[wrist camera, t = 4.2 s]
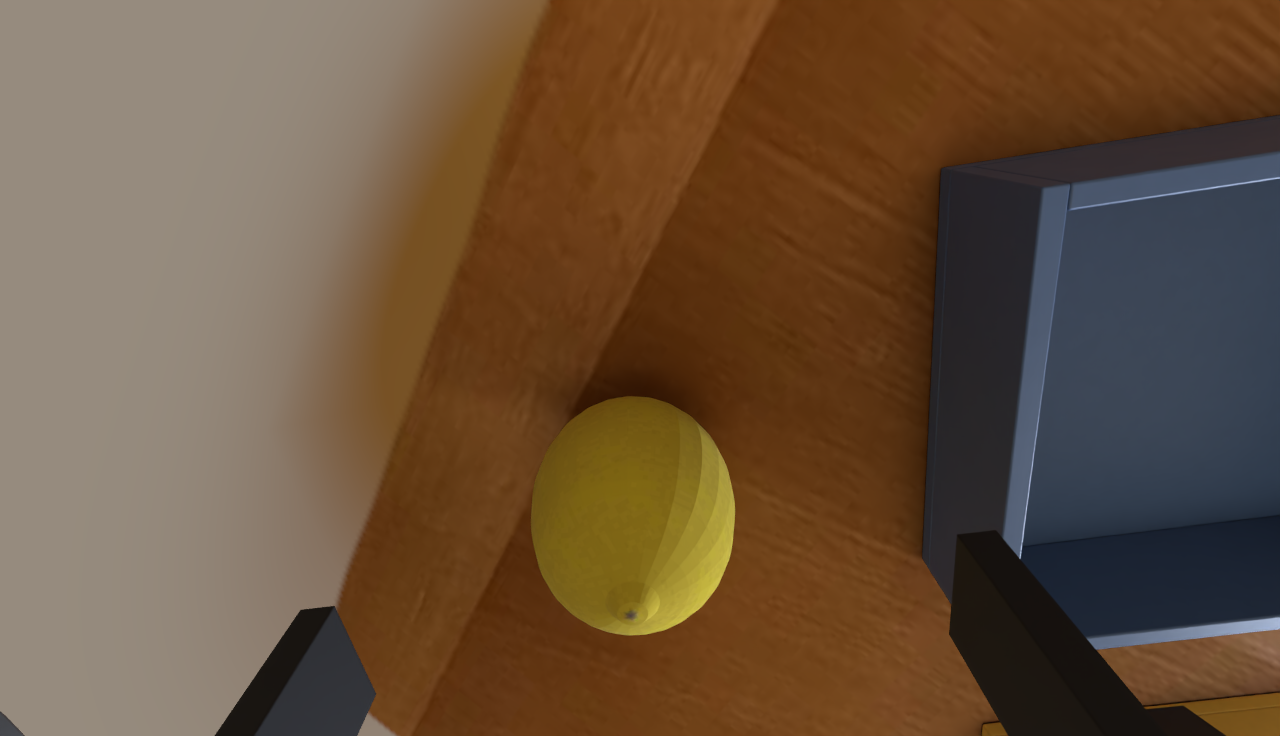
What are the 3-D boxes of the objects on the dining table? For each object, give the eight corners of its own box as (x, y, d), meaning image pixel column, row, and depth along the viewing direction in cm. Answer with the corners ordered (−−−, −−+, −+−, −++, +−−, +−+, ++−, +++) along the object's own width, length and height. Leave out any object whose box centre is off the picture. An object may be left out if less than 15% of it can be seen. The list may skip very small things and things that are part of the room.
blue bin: (921, 558, 22) (987, 662, 18) (940, 167, 17) (1042, 186, 13) (1316, 510, 22) (1481, 607, 17) (1474, 83, 16) (1775, 75, 12)
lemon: (637, 322, 19) (640, 462, 11) (748, 435, 20) (812, 621, 13) (517, 427, 20) (449, 612, 13) (629, 524, 22) (626, 737, 14)
